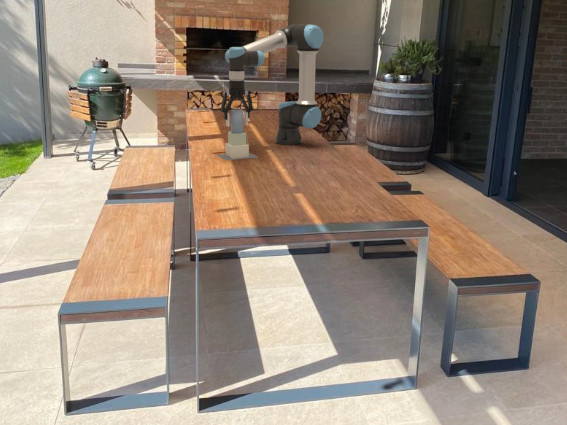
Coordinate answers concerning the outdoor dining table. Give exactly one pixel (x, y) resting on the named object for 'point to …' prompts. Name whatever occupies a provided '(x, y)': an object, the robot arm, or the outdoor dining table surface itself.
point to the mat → (235, 158)
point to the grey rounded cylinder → (236, 121)
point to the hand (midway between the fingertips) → (237, 125)
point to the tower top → (236, 139)
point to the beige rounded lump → (246, 138)
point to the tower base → (237, 151)
